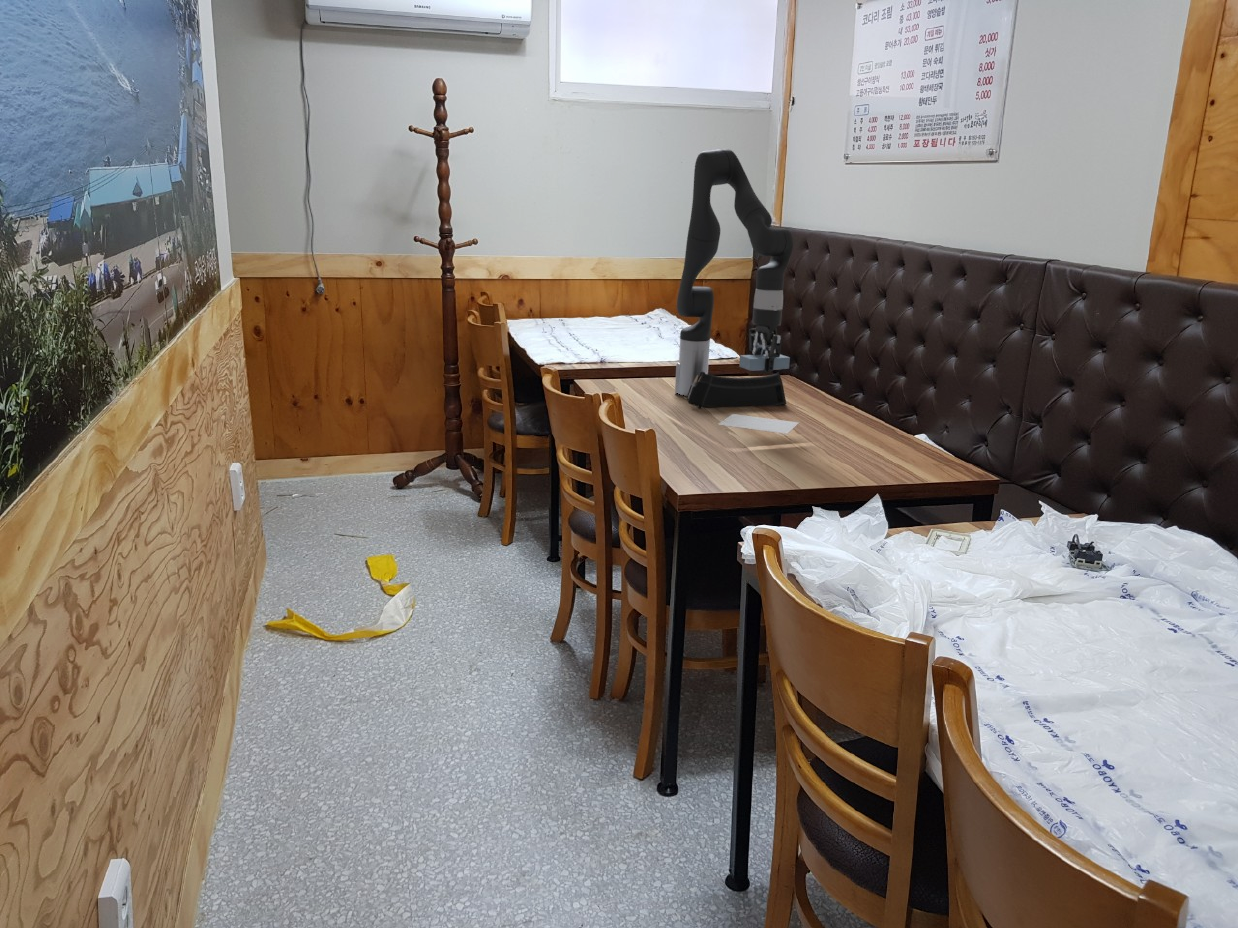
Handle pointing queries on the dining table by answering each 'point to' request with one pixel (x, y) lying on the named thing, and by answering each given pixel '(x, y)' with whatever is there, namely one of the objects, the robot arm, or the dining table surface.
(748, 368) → the placard
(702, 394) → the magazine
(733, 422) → the mat
